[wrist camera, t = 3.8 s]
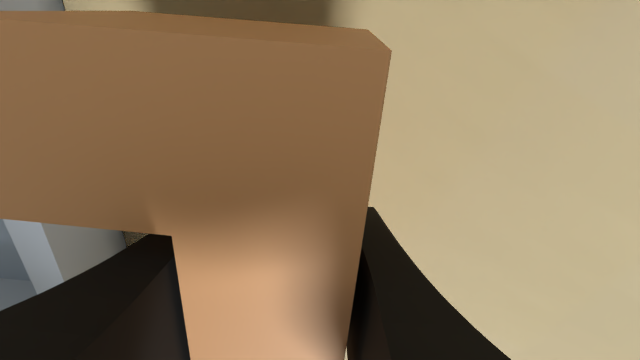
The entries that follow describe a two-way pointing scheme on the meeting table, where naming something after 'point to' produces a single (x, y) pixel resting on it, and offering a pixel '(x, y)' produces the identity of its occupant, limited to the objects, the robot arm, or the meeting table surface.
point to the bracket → (204, 159)
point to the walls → (52, 231)
